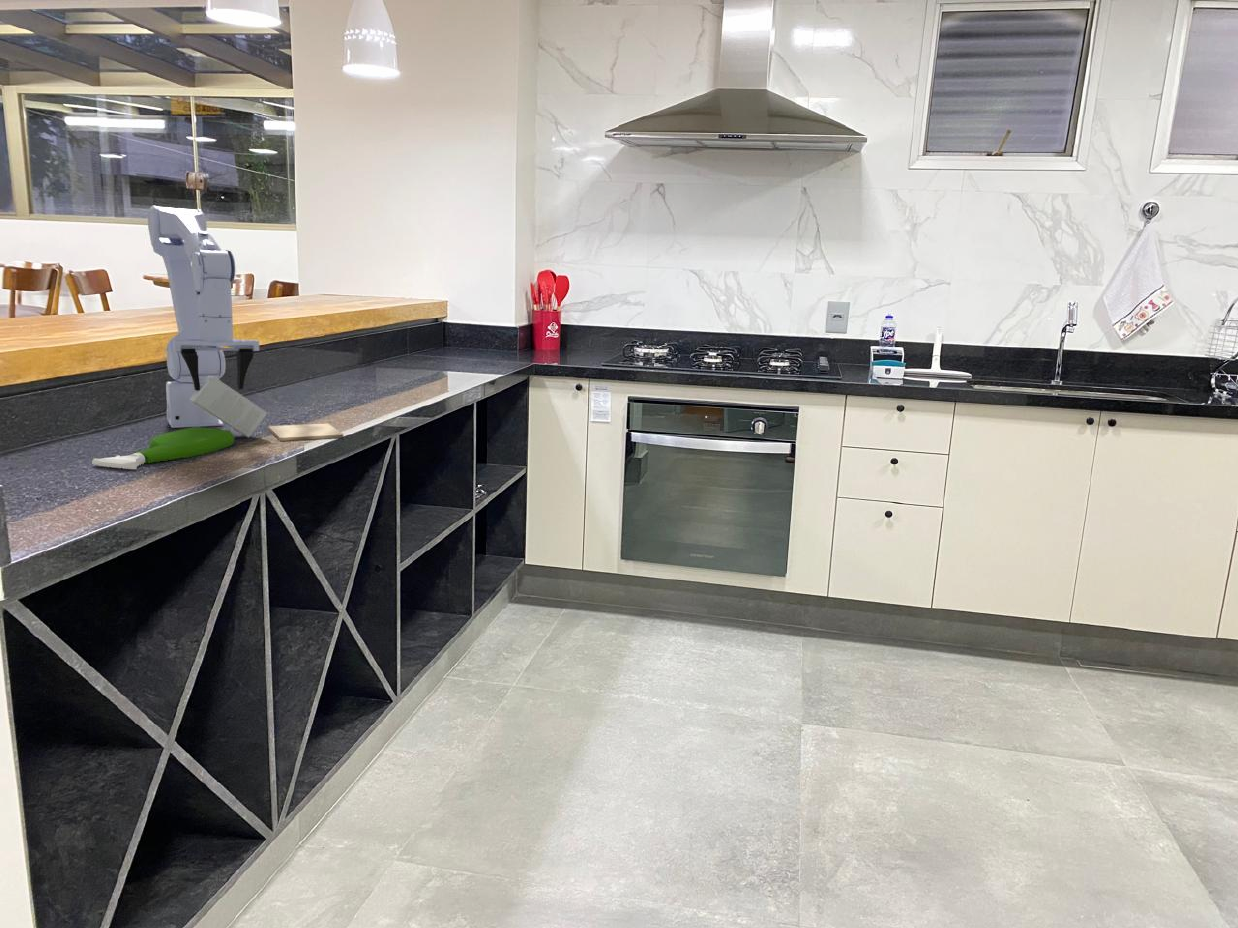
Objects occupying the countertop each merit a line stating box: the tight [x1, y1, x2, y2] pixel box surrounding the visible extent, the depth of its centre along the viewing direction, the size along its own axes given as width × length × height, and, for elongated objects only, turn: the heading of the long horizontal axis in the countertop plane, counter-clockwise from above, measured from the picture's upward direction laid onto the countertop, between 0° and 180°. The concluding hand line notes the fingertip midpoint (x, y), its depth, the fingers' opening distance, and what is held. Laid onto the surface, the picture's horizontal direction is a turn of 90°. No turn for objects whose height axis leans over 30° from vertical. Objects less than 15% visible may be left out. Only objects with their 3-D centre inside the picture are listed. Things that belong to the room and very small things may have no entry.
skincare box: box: [190, 375, 268, 438], centre depth 168 cm, size 6×4×12 cm
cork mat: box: [267, 423, 344, 442], centre depth 177 cm, size 12×12×1 cm
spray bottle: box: [91, 427, 235, 470], centre depth 154 cm, size 3×11×24 cm
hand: (219, 389), depth 167 cm, fingers open, 7 cm apart
